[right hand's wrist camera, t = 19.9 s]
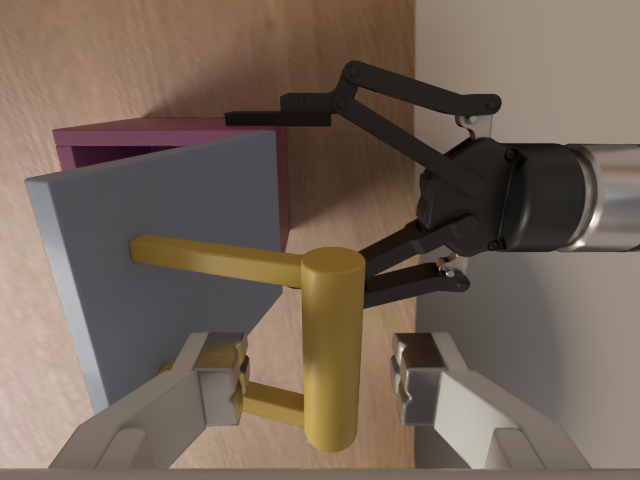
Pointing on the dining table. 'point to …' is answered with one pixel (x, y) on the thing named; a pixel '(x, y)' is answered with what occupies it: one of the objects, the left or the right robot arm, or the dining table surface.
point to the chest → (163, 146)
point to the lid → (197, 275)
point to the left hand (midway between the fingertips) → (236, 198)
